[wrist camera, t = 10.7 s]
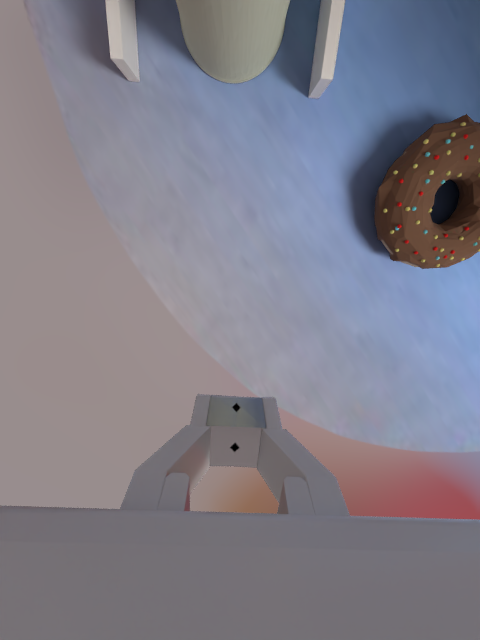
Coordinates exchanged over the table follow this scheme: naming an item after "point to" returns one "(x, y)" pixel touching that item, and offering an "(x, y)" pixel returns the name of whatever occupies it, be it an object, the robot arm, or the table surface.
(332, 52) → the tray
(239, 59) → the can
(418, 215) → the donut
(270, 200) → the table surface
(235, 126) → the table surface
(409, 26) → the table surface
